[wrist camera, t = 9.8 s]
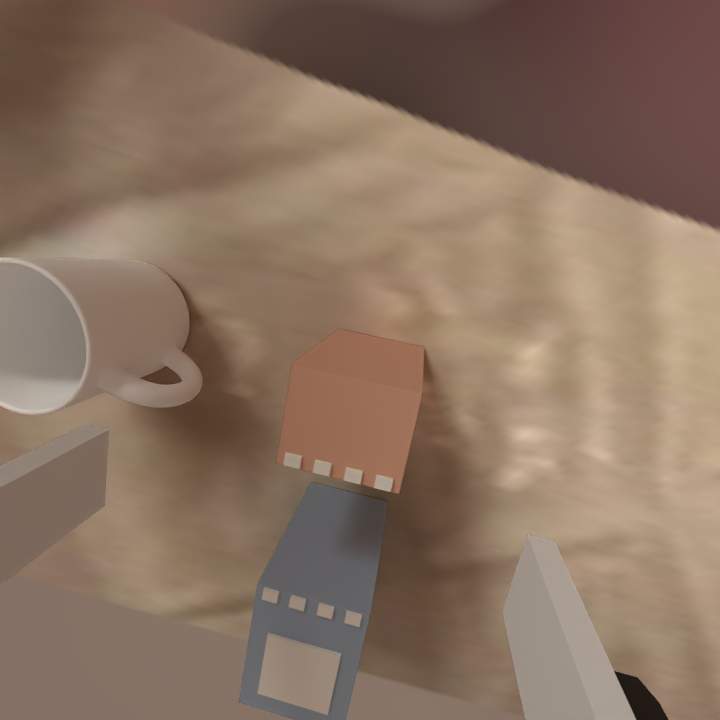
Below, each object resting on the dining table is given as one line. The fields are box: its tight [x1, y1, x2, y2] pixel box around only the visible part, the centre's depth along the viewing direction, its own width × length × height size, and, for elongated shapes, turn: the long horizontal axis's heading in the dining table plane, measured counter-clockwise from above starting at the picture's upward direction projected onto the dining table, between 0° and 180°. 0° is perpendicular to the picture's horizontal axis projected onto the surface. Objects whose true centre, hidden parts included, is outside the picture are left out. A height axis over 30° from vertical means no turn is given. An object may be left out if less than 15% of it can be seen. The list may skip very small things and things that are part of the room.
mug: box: [0, 258, 203, 415], centre depth 28 cm, size 12×8×10 cm
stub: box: [276, 329, 424, 494], centre depth 26 cm, size 5×6×11 cm
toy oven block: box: [239, 482, 389, 720], centre depth 29 cm, size 8×6×11 cm
